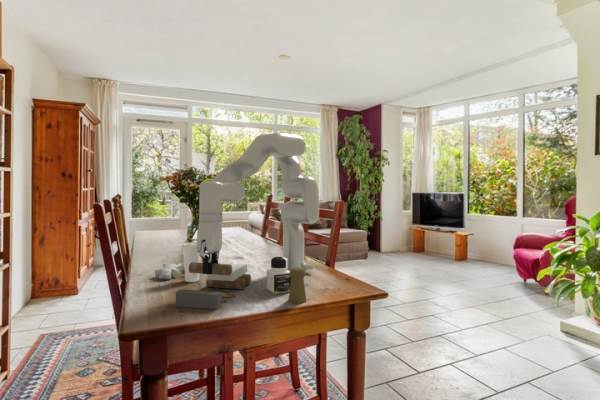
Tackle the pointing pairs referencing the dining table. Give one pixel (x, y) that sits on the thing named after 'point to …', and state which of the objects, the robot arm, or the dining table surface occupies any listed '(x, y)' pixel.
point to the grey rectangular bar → (199, 299)
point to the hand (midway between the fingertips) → (210, 272)
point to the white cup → (190, 260)
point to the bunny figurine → (168, 271)
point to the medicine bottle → (278, 276)
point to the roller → (216, 268)
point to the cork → (297, 286)
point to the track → (230, 284)
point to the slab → (236, 273)
